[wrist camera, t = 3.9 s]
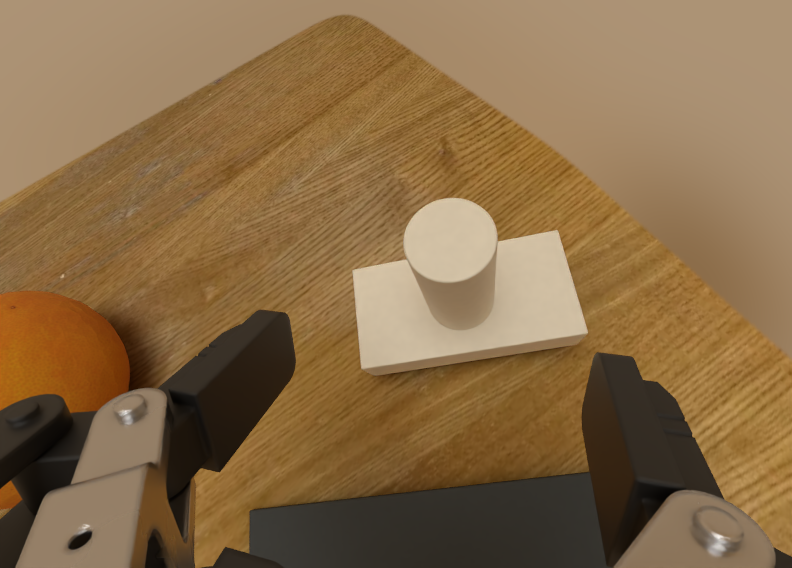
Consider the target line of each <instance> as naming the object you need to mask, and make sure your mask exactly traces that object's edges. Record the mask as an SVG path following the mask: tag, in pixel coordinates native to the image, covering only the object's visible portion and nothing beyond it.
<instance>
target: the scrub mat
mask: <svg viewBox="0 0 792 568" xmlns="http://www.w3.org/2000/svg"><path fill="white" fill-rule="evenodd" d="M250 554H251V555H255V556H258V557H262V558H265V559H269V560H272V561H276V562H277V563H279V564H280V565H282V566H283V567H285V568H612V567H608V566H607V565H606V560H605V554H604V549H603V543H602V537H601V532H600V526H599V521H598V515H597V509H596V504H595V498H594V492H593V487H592V481H591V476H590V472H584V473H575V474H566V475H557V476H548V477H539V478H530V479H521V480H512V481H503V482H494V483H485V484H477V485H468V486H459V487H450V488H441V489H432V490H423V491H414V492H405V493H396V494H387V495H378V496H369V497H361V498H352V499H343V500H334V501H325V502H316V503H307V504H298V505H289V506H280V507H271V508H262V509H254V510H251V511H250Z"/></svg>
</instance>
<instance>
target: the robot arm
mask: <svg viewBox="0 0 792 568" xmlns="http://www.w3.org/2000/svg"><path fill="white" fill-rule="evenodd" d="M295 363H296V358H295V351H294V345H293V338H292V332H291V325H290V320H289V317H288V315H287V314H286V313H283V312H275V311H267V310H258V311H256V312H255V313H254V314H253V315H252V316H251V317H249V318H248V319H247V320H246V321H245V322H244V323H243V324H241V325H238V326H236V327H234V328H232V329H230V330H228V331H226V332H224V333H222V334H221V335H220V336H218V337H217V338H216V339H215V340H214V341H213V342H211V343H210V344H209V347H206V348H204V349H203V350H202V351H201V352H200V353H199V354H198V356H195V357H194V358H193V359H192V360H190V361H189V362H188V363H187V364H186V365H184V366H183V367H182V368H181V369H180V370H179V371H177V372H176V373H175V374H174V375H173V376H172V377H170V378H169V379H168V380H167V381H166V382H165V383H163V384H162V385H161V386H160V387H159V388H158V389H156V388H141V389H136V390H132V391H129V392H126V393H124V394H121V395H119V396H117V397H115V398H113V399H112V400H110V401H109V402H107V403H106V404H105V405H103V406H102V407H101V408H100V409H99V410H98V411H89V412H75V413H70V411H69V409H68V407H67V405H66V403H65V401H64V399H63V398H62V397H61V396H59V395H56V394H43V395H37V396H33V397H29V398H26V399H23V400H20V401H18V402H16V403H13V404H11V405H9V406H7V407H6V408H4V409H2V410H1V411H0V489H1V488H2V487H3V486H5V485H6V484H7V483H8V482H9V481H11V482H12V483H13V485H14V486H15V488H16V490H17V491H18V493H19V495H20V496H21V498H22V500H21V501H20V502H19V503H18V504H17V505H16V506H15V507H14V508H12V509H11V510H10V511H9V512H8V513H7V514H6V515H5V516H3V517H2V518H1V519H0V568H195V563H194V531H195V498H196V483H195V480H194V477H193V476H194V475H195V474H196V473H197V472H198V470H199V469H200V468H203V469H207V470H212V471H216V472H220V471H221V470H222V469H223V467H224V466H225V465H226V464H227V462H228V461H229V460H230V458H231V457H232V456H233V454H234V453H235V452H236V450H237V449H238V448H239V447H240V445H241V444H242V443H243V441H244V440H245V439H246V437H247V436H248V435H249V433H250V432H251V431H252V429H253V428H254V427H255V426H256V424H257V423H258V422H259V420H260V419H261V418H262V416H263V415H264V414H265V412H266V411H267V410H268V409H269V407H270V406H271V405H272V403H273V402H274V401H275V399H276V398H277V397H278V395H279V394H280V393H281V392H282V390H283V389H284V388H285V386H286V385H287V384H288V382H289V381H290V380H291V378H292V376H293V373H294V370H295ZM684 419H685V417H684V415H683V413H682V411H681V409H680V407H679V405H678V403H677V401H676V399H675V398H674V397H673V396H672V395H671V394H670V393H668V392H667V391H666V390H665V389H664V388H663V387H662V386H661V385H660V384H659V383H658V382H653V381H646V380H642V377H641V375H640V372H639V370H638V367H637V365H636V363H635V360H634V358H633V357H631V356H623V355H615V354H607V353H599V352H597V353H596V354H595V356H594V358H593V362H592V366H591V371H590V375H589V380H588V384H587V388H586V393H585V397H584V402H583V407H582V431H583V436H584V442H585V448H586V453H587V459H588V464H589V470H590V476H591V481H592V487H593V492H594V498H595V504H596V509H597V515H598V521H599V526H600V532H601V537H602V543H603V549H604V554H605V560H606V565H607V566H608V567H612V568H792V557H791V556H789V555H787V554H785V553H783V552H781V551H779V550H777V549H776V548H774V547H773V546H772V544H771V542H770V540H769V538H768V537H767V535H766V534H765V532H764V531H763V530H762V529H761V528H760V526H759V525H758V524H757V523H756V522H755V521H754V520H753V519H752V518H751V517H749V516H748V515H747V514H746V513H744V512H743V511H742V510H740V509H739V508H737V507H736V506H734V505H733V504H731V503H729V502H727V501H726V500H724V498H723V495H722V493H721V491H720V489H719V487H718V485H717V483H716V481H715V479H714V477H713V475H712V473H711V471H710V469H709V467H708V465H707V463H706V461H705V459H704V456H703V454H702V452H701V450H700V448H699V446H698V444H697V442H696V440H695V438H693V437H692V432H691V430H690V428H689V426H688V424H687V422H685V420H684ZM203 568H285V567H283V566H282V565H280V564H279V563H277V562H276V561H272V560H269V559H265V558H262V557H258V556H255V555H251V554H248V553H244V552H241V551H237V550H234V549H231V548H227V547H225V548H224V550H223V551H222V553H221V554H220V556H219V558H218V559H217V561H216V562H215V564H214V565H213V566H209V567H203Z"/></svg>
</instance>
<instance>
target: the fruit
mask: <svg viewBox="0 0 792 568" xmlns="http://www.w3.org/2000/svg"><path fill="white" fill-rule="evenodd" d="M129 380H130V365H129V359H128V356H127V352H126V349H125V347H124V344H123V342H122V341H121V339H120V337H119V336H118V334H117V333H116V331H115V329H114V328H113V327H112V326H111V324H110V323H109V322H108V321H107V320H106V319H105V318H104V317H103V316H101V315H100V314H98V313H97V312H95V311H94V310H92V309H91V308H90V307H88V306H87V305H85V304H83V303H81V302H79V301H76V300H73V299H70V298H67V297H65V296H62V295H58V294H54V293H50V292H43V291H19V292H8V293H5V294H1V295H0V411H1V410H2V409H4V408H6V407H7V406H9V405H11V404H13V403H16V402H18V401H20V400H23V399H26V398H29V397H33V396H37V395H43V394H56V395H59V396H61V397H62V398H63V399H64V401H65V403H66V405H67V407H68V409H69V411H70V413H75V412H89V411H98V410H99V409H100V408H101V407H102V406H103V405H105V404H106V403H107V402H109V401H110V400H112V399H113V398H115V397H117V396H119V395H121V394H124V393H126V392H128V388H129ZM21 500H22V498H21V496H20V495H19V493H18V491H17V490H16V488H15V486H14V485H13V483H12V482H11V481H9V482H8V483H7V484H6V485H5V486H3V487H2V488H1V489H0V509H7V508H13V507H15V506H16V505H17V504H18V503H19V502H20V501H21Z"/></svg>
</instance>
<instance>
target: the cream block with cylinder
mask: <svg viewBox="0 0 792 568" xmlns="http://www.w3.org/2000/svg"><path fill="white" fill-rule="evenodd" d="M403 246H404V252H405V256H406V258H407V259H406V260H401V261H396V262H391V263H386V264H380V265H375V266H370V267H365V268H360V269H355V270H353V282H354V294H355V305H356V316H357V327H358V338H359V350H360V361H361V369H362V370H364V371H366V372H368V373H370V374H372V375H374V376H378V375H384V374H391V373H397V372H404V371H410V370H416V369H423V368H429V367H436V366H442V365H449V364H455V363H462V362H468V361H474V360H481V359H487V358H494V357H500V356H507V355H513V354H520V353H526V352H532V351H539V350H545V349H552V348H558V347H565V346H571V345H576V344H578V343H579V342H580V341H581V340H582V339H583V338H584V337H585V336H586V335H587V334H588V330H587V327H586V323H585V320H584V317H583V313H582V310H581V307H580V303H579V300H578V296H577V293H576V290H575V286H574V283H573V279H572V276H571V273H570V269H569V266H568V263H567V259H566V256H565V252H564V249H563V246H562V242H561V239H560V236H559V232H558V230H555V231H550V232H545V233H540V234H534V235H529V236H524V237H519V238H514V239H509V240H504V241H499V242H498V235H497V229H496V226H495V223H494V221H493V219H492V218H491V216H490V215H489V214H488V213H487V212H486V211H485V210H484V209H483V208H482V207H480V206H479V205H477V204H476V203H473V202H471V201H468V200H465V199H460V198H446V199H440V200H437V201H434V202H432V203H430V204H428V205H426V206H424V207H423V208H421V209H420V210H419V211H418V212H417V213H416V214H415V215H414V216H413V217H412V219H411V220H410V222H409V224H408V225H407V228H406V230H405V234H404V240H403Z"/></svg>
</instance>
